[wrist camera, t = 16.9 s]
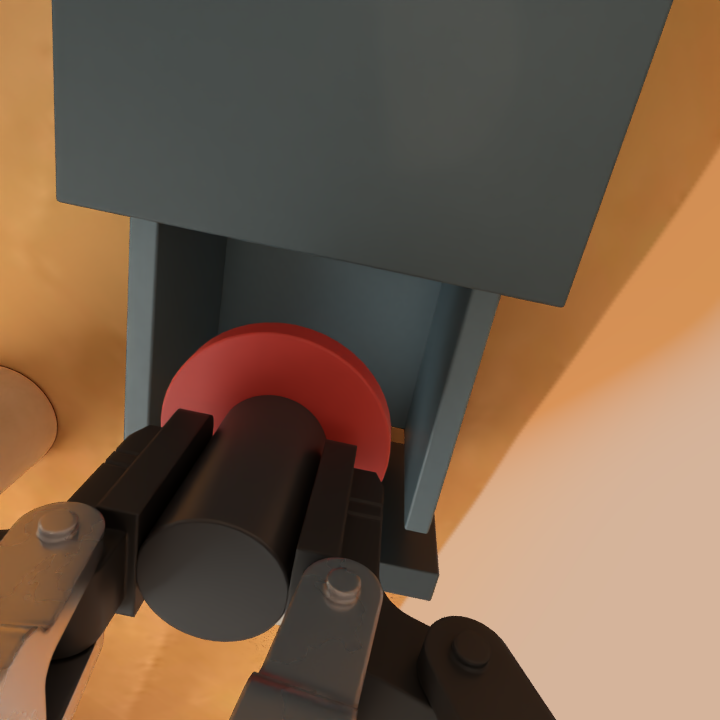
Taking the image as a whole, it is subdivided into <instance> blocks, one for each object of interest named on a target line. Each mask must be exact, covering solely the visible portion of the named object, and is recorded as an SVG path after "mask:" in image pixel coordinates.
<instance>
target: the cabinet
mask: <svg viewBox="0 0 720 720" xmlns="http://www.w3.org/2000/svg"><path fill="white" fill-rule="evenodd" d="M672 3H673V0H52V29H53V71H54V114H55V157H56V198H57V201H59V202H62V203H67V204H71V205H76V206H81V207H86V208H90V209H95V210H100V211H105V212H109V213H114V214H119V215H124V216H128V217H133V218H138V219H143V220H147V221H152V222H157V223H162V224H166V225H171V226H176V227H181V228H185V229H190V230H195V231H200V232H204V233H209V234H214V235H219V236H223V237H228V238H233V239H238V240H242V241H247V242H252V243H257V244H261V245H266V246H271V247H276V248H280V249H285V250H290V251H295V252H299V253H304V254H309V255H314V256H318V257H323V258H328V259H333V260H337V261H342V262H347V263H352V264H356V265H361V266H366V267H371V268H375V269H380V270H385V271H390V272H394V273H399V274H404V275H409V276H413V277H418V278H423V279H428V280H432V281H437V282H442V283H447V284H451V285H456V286H461V287H465V288H470V289H475V290H480V291H484V292H489V293H494V294H499V295H503V296H508V297H513V298H518V299H522V300H527V301H532V302H537V303H541V304H546V305H551V306H556V307H564V305H565V303H566V300H567V297H568V295H569V292H570V289H571V286H572V283H573V280H574V278H575V275H576V272H577V269H578V266H579V264H580V261H581V258H582V255H583V252H584V250H585V247H586V244H587V241H588V238H589V236H590V233H591V230H592V227H593V224H594V222H595V219H596V216H597V213H598V210H599V208H600V205H601V202H602V199H603V196H604V193H605V191H606V188H607V185H608V182H609V179H610V177H611V174H612V171H613V168H614V165H615V163H616V160H617V157H618V154H619V151H620V149H621V146H622V143H623V140H624V137H625V135H626V132H627V129H628V126H629V123H630V121H631V118H632V115H633V112H634V109H635V106H636V104H637V101H638V98H639V95H640V92H641V90H642V87H643V84H644V81H645V78H646V76H647V73H648V70H649V67H650V64H651V62H652V59H653V56H654V53H655V50H656V48H657V45H658V42H659V39H660V36H661V34H662V31H663V28H664V25H665V22H666V19H667V17H668V14H669V11H670V8H671V5H672Z"/></svg>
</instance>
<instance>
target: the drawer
mask: <svg viewBox="0 0 720 720" xmlns="http://www.w3.org/2000/svg"><path fill="white" fill-rule="evenodd" d="M500 297H501V295H499V294H494V293H489V292H484V291H480V290H475V289H470V288H465V287H461V286H456V285H451V284H447V283H442V282H437V281H432V280H428V279H423V278H418V277H413V276H409V275H404V274H399V273H394V272H390V271H385V270H380V269H375V268H371V267H366V266H361V265H356V264H352V263H347V262H342V261H337V260H333V259H328V258H323V257H318V256H314V255H309V254H304V253H299V252H295V251H290V250H285V249H280V248H276V247H271V246H266V245H261V244H257V243H252V242H247V241H242V240H238V239H233V238H228V237H223V236H219V235H214V234H209V233H204V232H200V231H195V230H190V229H185V228H181V227H176V226H171V225H166V224H162V223H157V222H152V221H147V220H143V219H138V218H133V217H130V241H129V276H128V312H127V347H126V383H125V418H124V440H125V439H126V438H127V437H128V436H129V435H130V434H132V433H134V432H136V431H138V430H140V429H142V428H144V427H146V426H148V425H153V426H158V427H161V412H162V405H163V401H164V398H165V394H166V391H167V389H168V387H169V385H170V383H171V381H172V379H173V377H174V376H175V375H176V373H177V372H178V370H179V369H180V368H181V366H182V365H183V364H184V363H185V362H186V361H187V360H188V359H189V358H190V357H191V356H192V355H193V354H194V353H195V352H196V351H197V350H198V349H199V348H200V347H201V346H203V345H204V344H205V343H207V342H208V341H209V340H211V339H212V338H214V337H216V336H218V335H219V334H221V333H223V332H226V331H228V330H231V329H233V328H236V327H240V326H244V325H248V324H255V323H265V322H268V323H286V324H293V325H298V326H302V327H305V328H309V329H312V330H315V331H317V332H319V333H322V334H324V335H327V336H328V337H330V338H332V339H334V340H335V341H337V342H339V343H341V344H342V345H343V346H345V347H346V348H347V349H349V350H350V351H351V352H353V353H354V354H355V355H356V356H357V357H358V358H359V359H360V360H361V361H362V362H363V363H364V364H365V365H366V367H367V368H368V369H369V370H370V372H371V373H372V374H373V376H374V377H375V379H376V381H377V382H378V384H379V385H380V387H381V390H382V392H383V394H384V396H385V399H386V402H387V406H388V409H389V413H390V421H391V426H392V427H397V428H402V429H404V444H401V443H396V442H391V446H390V456H389V462H388V466H387V469H386V472H385V475H384V478H383V480H382V482H381V483H382V485H383V486H384V488H385V489H384V505H383V519H382V536H381V552H380V568H379V579H380V583H381V586H382V589H383V591H384V592H389V593H394V594H399V595H404V596H408V597H413V598H418V599H423V600H428V601H430V600H431V598H432V595H433V592H434V589H435V586H436V583H437V580H438V577H439V567H438V554H437V541H436V529H435V516H434V512H435V509H436V506H437V502H438V499H439V496H440V493H441V489H442V486H443V483H444V480H445V476H446V473H447V470H448V466H449V463H450V460H451V457H452V453H453V450H454V447H455V444H456V440H457V437H458V434H459V431H460V427H461V424H462V421H463V417H464V414H465V411H466V408H467V404H468V401H469V398H470V395H471V391H472V388H473V385H474V382H475V378H476V375H477V372H478V368H479V365H480V362H481V359H482V355H483V352H484V349H485V346H486V342H487V339H488V336H489V333H490V329H491V326H492V323H493V319H494V316H495V313H496V310H497V306H498V303H499V300H500ZM283 618H284V614H283V616H282V617H281V619H280V620H279V621H278V622H277V623H276V625H281V623H282V620H283Z"/></svg>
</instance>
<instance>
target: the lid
mask: <svg viewBox="0 0 720 720" xmlns="http://www.w3.org/2000/svg"><path fill="white" fill-rule="evenodd" d="M179 408H181V409H186V410H191V411H196V412H200V413H205V414H210V415H213V418H214V427H213V436H212V438H211V439H210V441H209V442H208V444H207V445H206V447H205V449H204V450H203V452H202V453H201V455H200V456H199V458H198V459H197V461H196V462H195V464H194V465H193V467H192V468H191V470H190V471H189V473H188V475H187V476H186V478H185V479H184V481H183V482H182V484H181V485H180V487H179V488H178V490H177V491H176V493H175V494H174V496H173V498H172V499H171V501H170V502H169V504H168V505H167V507H166V508H165V510H164V511H163V513H162V514H161V516H160V517H159V519H158V520H157V522H156V524H155V525H154V527H153V528H152V530H151V531H150V533H149V534H148V536H147V537H146V539H145V540H144V542H143V543H142V545H141V547H140V549H139V551H138V555H137V565H136V581H137V585H138V588H139V590H140V593H141V594H142V596H143V598H144V600H145V601H146V603H147V604H148V605H149V607H150V608H151V609H152V610H153V611H154V612H155V613H156V614H157V615H158V616H159V617H160V618H161V619H162V620H164V621H165V622H167V623H168V624H169V625H171V626H173V627H174V628H176V629H178V630H180V631H182V632H184V633H186V634H189V635H192V636H194V637H197V638H201V639H205V640H211V641H221V642H232V641H241V640H246V639H250V638H253V637H255V636H258V635H260V634H262V633H264V632H266V631H267V630H269V629H270V628H271V627H273V626H274V625H275V624H276V623H277V622H278V621H279V620H280V619H281V617H282V616H283V614H284V613H285V608H286V603H287V597H288V592H289V587H290V581H291V576H292V571H293V565H294V560H295V555H296V549H297V545H298V542H299V538H300V534H301V530H302V527H303V523H304V519H305V516H306V512H307V508H308V504H309V501H310V497H311V493H312V490H313V486H314V482H315V478H316V475H317V471H318V467H319V464H320V460H321V456H322V452H323V449H324V445H325V441H326V439H328V440H333V441H338V442H343V443H347V444H352V445H357V452H356V458H355V464H354V468H358V469H362V470H367V471H372V472H376V473H377V475H378V477H379V479H380V481H381V482H382V480H383V478H384V475H385V472H386V469H387V466H388V462H389V456H390V446H391V421H390V413H389V409H388V406H387V402H386V399H385V396H384V394H383V392H382V390H381V387H380V385H379V384H378V382H377V381H376V379H375V377H374V376H373V374H372V373H371V372H370V370H369V369H368V368H367V367H366V365H365V364H364V363H363V362H362V361H361V360H360V359H359V358H358V357H357V356H356V355H355V354H354V353H353V352H351V351H350V350H349V349H347V348H346V347H345V346H343V345H342V344H341V343H339V342H337V341H335V340H334V339H332V338H330V337H328V336H327V335H324V334H322V333H319V332H317V331H315V330H312V329H309V328H305V327H302V326H298V325H293V324H286V323H268V322H265V323H255V324H248V325H244V326H240V327H236V328H233V329H231V330H228V331H226V332H223V333H221V334H219V335H218V336H216V337H214V338H212V339H211V340H209V341H208V342H207V343H205V344H204V345H203V346H201V347H200V348H199V349H198V350H197V351H196V352H195V353H194V354H193V355H192V356H191V357H190V358H189V359H188V360H187V361H186V362H185V363H184V364H183V365H182V366H181V368H180V369H179V370H178V372H177V373H176V375H175V376H174V377H173V379H172V381H171V383H170V385H169V387H168V389H167V391H166V394H165V398H164V401H163V405H162V412H161V427H163V426H164V425H165V423H166V422H167V421H168V420H169V419H170V418H171V416H172V415H173V414H174V413H175V412H176V411H177V410H178V409H179Z"/></svg>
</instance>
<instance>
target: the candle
mask: <svg viewBox="0 0 720 720" xmlns="http://www.w3.org/2000/svg"><path fill="white" fill-rule="evenodd" d="M56 433H57V421H56V416H55V413H54V410H53V408H52V405H51V404H50V402H49V400H48V399H47V397H46V396H45V394H44V393H43V392H42V391H41V390H40V389H39V387H37V386H36V385H35V384H34V383H33V382H32V381H30V380H29V379H28V378H26V377H25V376H23V375H21V374H20V373H18V372H15V371H13V370H11V369H8V368H5V367H0V494H1V493H2V492H3V491H5V490H6V489H7V488H8V487H9V486H10V485H11V484H13V483H14V482H15V481H16V480H17V479H18V478H19V477H21V476H22V475H23V474H24V473H25V472H26V471H27V470H29V469H30V468H31V467H32V466H33V465H34V464H35V463H36V462H37V461H39V460H40V459H41V458H42V457H43V456H44V455H45V454H46V453H47V452H48V450H49V449H50V448H51V446H52V444H53V443H54V440H55V437H56Z"/></svg>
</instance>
